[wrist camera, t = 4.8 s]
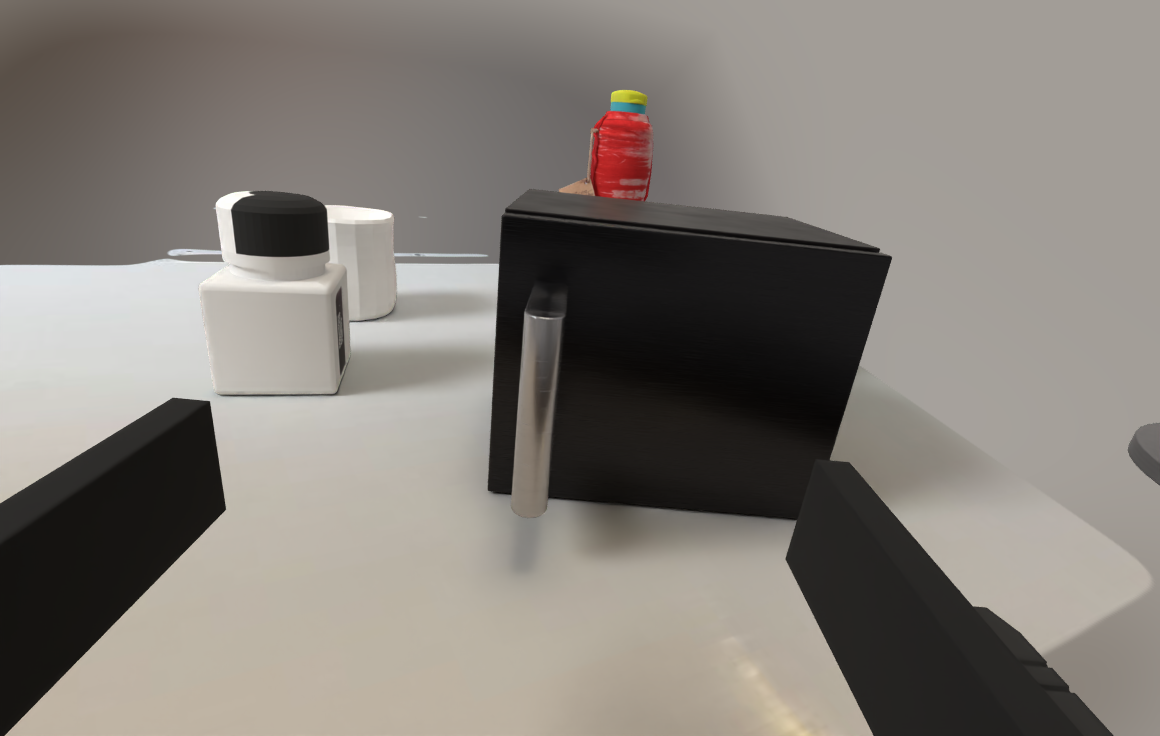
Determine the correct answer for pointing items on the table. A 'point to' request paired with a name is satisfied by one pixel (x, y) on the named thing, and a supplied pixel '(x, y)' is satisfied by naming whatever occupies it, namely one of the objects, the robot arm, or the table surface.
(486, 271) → the table surface
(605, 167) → the water bottle
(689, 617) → the table surface
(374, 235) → the cup
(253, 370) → the container
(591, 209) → the dark grey cabinet
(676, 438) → the door
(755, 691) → the table surface
